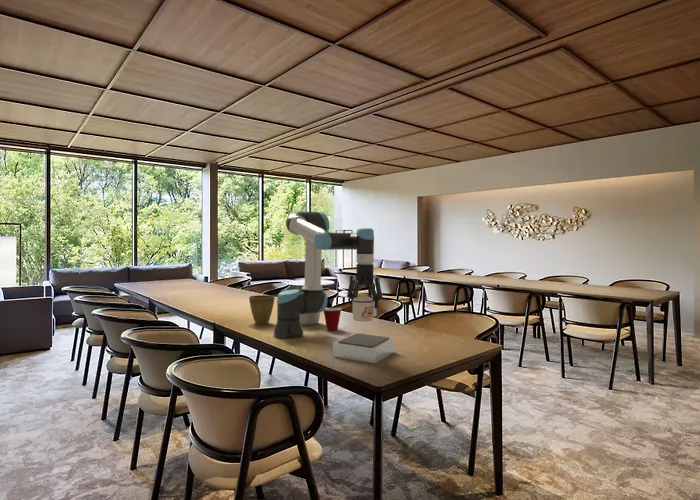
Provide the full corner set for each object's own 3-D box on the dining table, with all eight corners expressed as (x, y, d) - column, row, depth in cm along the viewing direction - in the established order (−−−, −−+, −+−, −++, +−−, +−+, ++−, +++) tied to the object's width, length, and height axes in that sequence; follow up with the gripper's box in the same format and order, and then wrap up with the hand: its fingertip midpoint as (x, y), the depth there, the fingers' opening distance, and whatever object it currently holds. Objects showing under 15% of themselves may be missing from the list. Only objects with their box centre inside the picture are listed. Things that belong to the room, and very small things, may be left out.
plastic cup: (332, 326, 244) (332, 306, 244) (345, 329, 236) (345, 308, 236) (318, 329, 237) (318, 308, 236) (331, 332, 229) (331, 310, 229)
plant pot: (279, 323, 253) (279, 296, 252) (258, 326, 242) (258, 298, 242) (264, 319, 263) (265, 294, 263) (244, 323, 252) (244, 296, 252)
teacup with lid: (363, 322, 179) (364, 295, 178) (348, 319, 185) (348, 293, 185) (382, 318, 187) (382, 292, 187) (366, 316, 194) (366, 290, 193)
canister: (328, 322, 257) (328, 287, 257) (313, 327, 241) (313, 290, 240) (302, 319, 265) (302, 286, 264) (286, 325, 248) (286, 289, 248)
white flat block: (332, 356, 183) (333, 341, 183) (359, 344, 205) (359, 330, 205) (375, 363, 173) (375, 347, 173) (398, 349, 195) (398, 335, 195)
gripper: (339, 263, 188) (338, 313, 188) (384, 265, 177) (383, 318, 178) (347, 262, 194) (346, 311, 195) (391, 264, 184) (390, 315, 184)
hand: (364, 314), depth 186 cm, fingers closed on teacup with lid, 9 cm apart
